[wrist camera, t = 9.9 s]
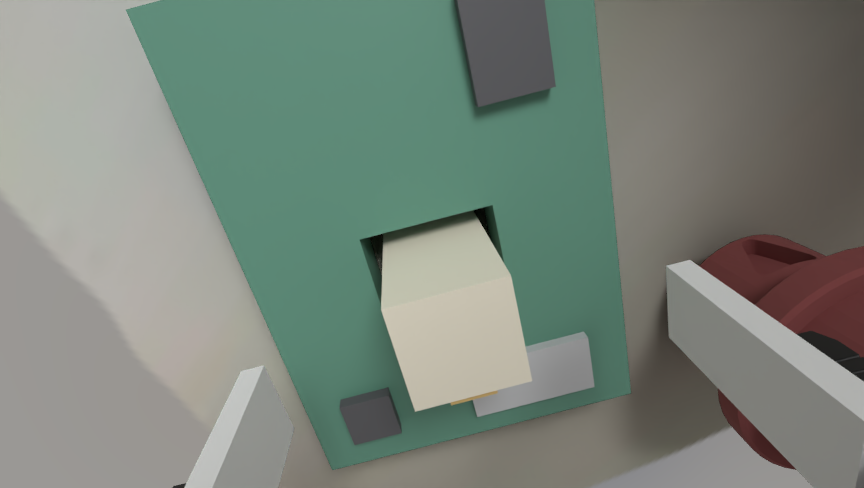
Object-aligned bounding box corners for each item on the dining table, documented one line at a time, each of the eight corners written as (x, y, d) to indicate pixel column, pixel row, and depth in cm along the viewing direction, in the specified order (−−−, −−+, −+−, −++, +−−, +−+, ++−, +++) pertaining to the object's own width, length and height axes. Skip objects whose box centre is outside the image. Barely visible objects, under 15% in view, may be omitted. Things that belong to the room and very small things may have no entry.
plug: (383, 228, 22) (380, 309, 15) (470, 205, 22) (511, 275, 15) (408, 311, 24) (418, 420, 17) (489, 289, 24) (534, 389, 17)
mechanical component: (598, 293, 25) (750, 155, 23) (700, 386, 28) (842, 273, 26) (778, 490, 13) (1119, 249, 11) (918, 612, 16) (1207, 441, 14)
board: (166, 18, 18) (116, 7, 15) (553, -86, 18) (590, -119, 15) (338, 427, 27) (331, 479, 23) (605, 358, 26) (636, 401, 23)
